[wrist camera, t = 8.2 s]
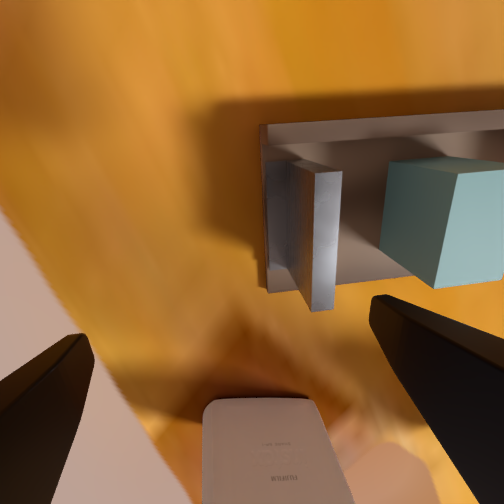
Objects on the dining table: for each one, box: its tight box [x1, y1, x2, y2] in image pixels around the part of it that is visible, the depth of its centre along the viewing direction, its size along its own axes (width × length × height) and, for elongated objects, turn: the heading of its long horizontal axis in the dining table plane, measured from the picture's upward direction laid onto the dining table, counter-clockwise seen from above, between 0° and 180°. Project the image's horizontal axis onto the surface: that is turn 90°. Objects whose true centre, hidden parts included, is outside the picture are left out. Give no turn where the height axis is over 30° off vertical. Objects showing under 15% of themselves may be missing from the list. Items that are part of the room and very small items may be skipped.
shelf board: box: [259, 109, 504, 293], centre depth 18 cm, size 11×24×6 cm, turn 93°
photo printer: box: [202, 398, 355, 504], centre depth 21 cm, size 10×4×12 cm, turn 80°
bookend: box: [265, 159, 342, 312], centre depth 16 cm, size 7×2×5 cm, turn 3°
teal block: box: [379, 156, 504, 289], centre depth 17 cm, size 6×4×6 cm, turn 4°
